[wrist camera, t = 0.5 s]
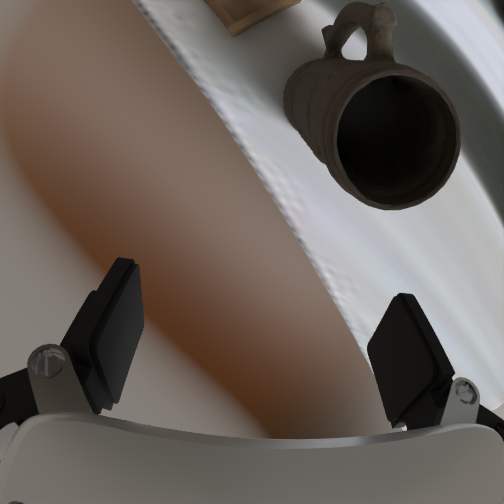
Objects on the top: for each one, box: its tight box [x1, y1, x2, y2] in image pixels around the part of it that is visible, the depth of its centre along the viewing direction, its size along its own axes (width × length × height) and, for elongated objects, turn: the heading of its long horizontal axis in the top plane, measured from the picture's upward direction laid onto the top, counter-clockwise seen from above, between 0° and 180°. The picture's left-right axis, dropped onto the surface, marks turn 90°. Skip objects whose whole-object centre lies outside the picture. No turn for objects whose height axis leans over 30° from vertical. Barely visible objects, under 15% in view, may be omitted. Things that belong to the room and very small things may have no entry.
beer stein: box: [283, 2, 461, 210], centre depth 23 cm, size 15×11×20 cm
